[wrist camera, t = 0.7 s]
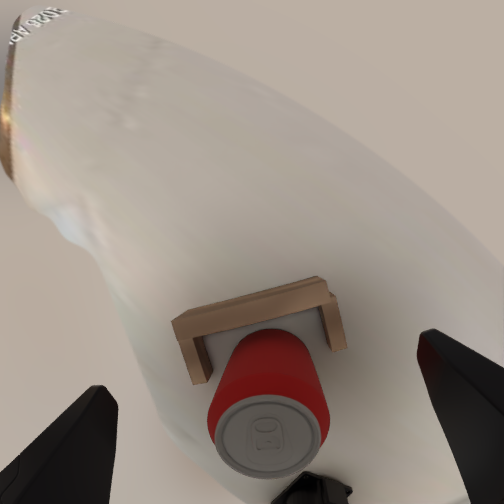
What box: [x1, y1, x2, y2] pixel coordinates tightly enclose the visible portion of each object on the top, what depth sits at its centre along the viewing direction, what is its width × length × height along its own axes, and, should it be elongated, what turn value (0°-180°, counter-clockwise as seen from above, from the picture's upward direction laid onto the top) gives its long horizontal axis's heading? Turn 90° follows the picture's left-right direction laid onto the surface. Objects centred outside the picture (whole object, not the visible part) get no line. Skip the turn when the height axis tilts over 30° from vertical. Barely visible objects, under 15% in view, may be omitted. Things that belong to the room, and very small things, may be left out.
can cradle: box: [171, 276, 347, 385], centre depth 23 cm, size 6×12×4 cm, turn 105°
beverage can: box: [207, 329, 330, 479], centre depth 20 cm, size 7×7×12 cm
